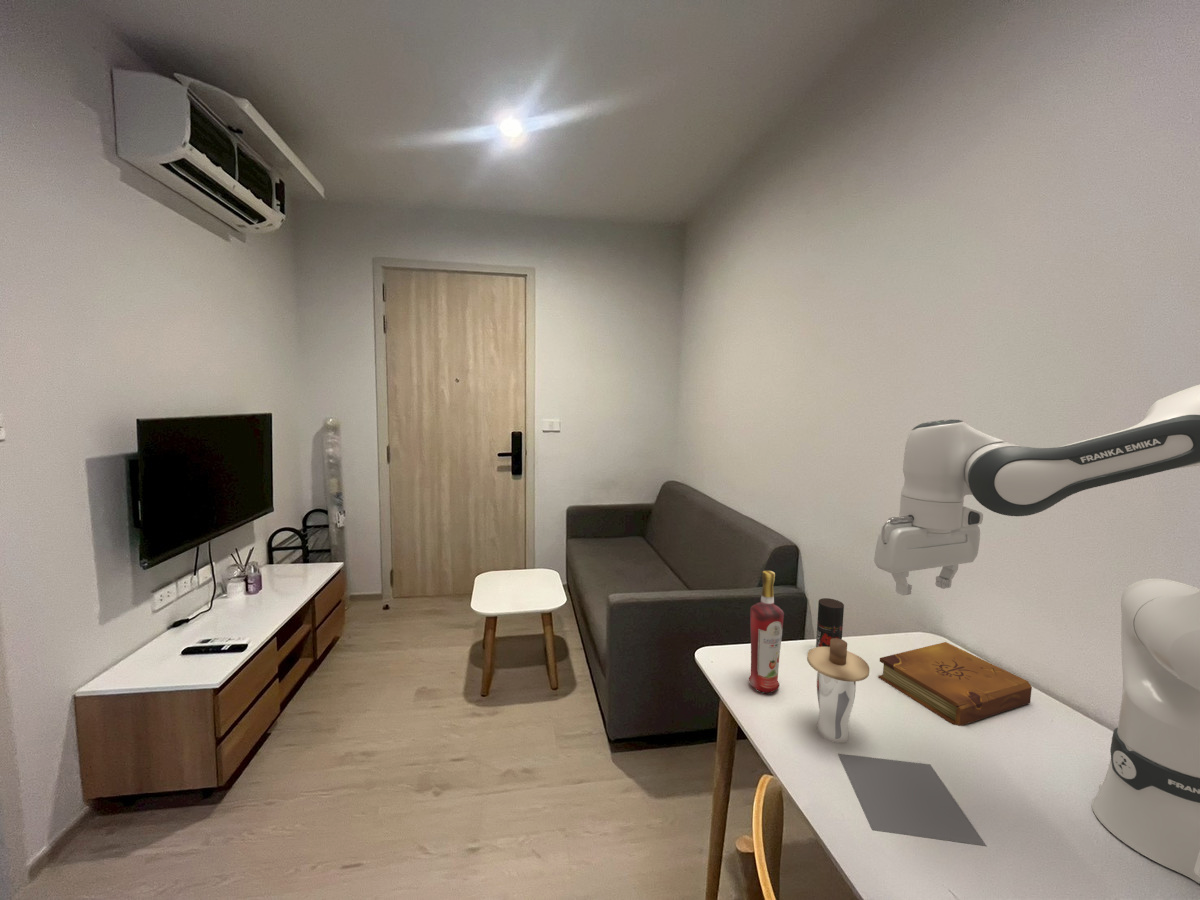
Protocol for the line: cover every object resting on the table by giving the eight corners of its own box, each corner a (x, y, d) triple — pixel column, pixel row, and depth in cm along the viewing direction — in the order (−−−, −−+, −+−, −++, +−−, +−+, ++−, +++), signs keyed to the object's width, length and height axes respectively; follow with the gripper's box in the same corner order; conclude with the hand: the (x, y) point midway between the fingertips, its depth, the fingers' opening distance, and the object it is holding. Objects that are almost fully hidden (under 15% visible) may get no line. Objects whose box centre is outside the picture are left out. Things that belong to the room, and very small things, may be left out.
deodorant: (810, 654, 124) (813, 600, 122) (827, 649, 126) (830, 596, 125) (828, 666, 119) (832, 609, 117) (845, 661, 121) (849, 605, 119)
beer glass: (857, 749, 90) (862, 677, 89) (818, 744, 92) (822, 672, 90) (846, 725, 97) (850, 657, 95) (810, 720, 98) (814, 653, 97)
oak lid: (855, 652, 97) (857, 630, 97) (879, 684, 87) (881, 659, 86) (800, 648, 99) (801, 626, 98) (816, 678, 88) (818, 654, 88)
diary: (958, 731, 96) (960, 705, 96) (878, 680, 114) (879, 657, 113) (1029, 706, 104) (1032, 682, 103) (944, 662, 121) (945, 641, 121)
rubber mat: (930, 767, 86) (930, 764, 86) (986, 849, 70) (986, 845, 70) (837, 756, 89) (837, 753, 89) (871, 833, 73) (872, 829, 73)
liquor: (768, 676, 114) (773, 565, 111) (786, 694, 107) (792, 577, 104) (741, 680, 113) (745, 568, 110) (758, 699, 106) (763, 579, 102)
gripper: (901, 522, 74) (894, 605, 76) (990, 513, 81) (983, 590, 82) (867, 513, 80) (862, 590, 82) (953, 505, 87) (946, 577, 88)
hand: (923, 590), depth 82 cm, fingers open, 8 cm apart
